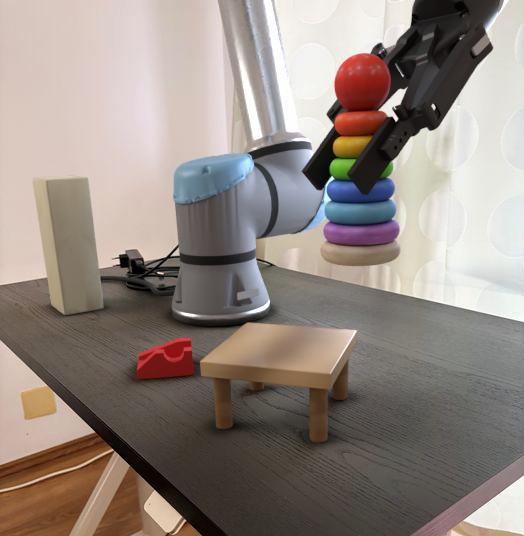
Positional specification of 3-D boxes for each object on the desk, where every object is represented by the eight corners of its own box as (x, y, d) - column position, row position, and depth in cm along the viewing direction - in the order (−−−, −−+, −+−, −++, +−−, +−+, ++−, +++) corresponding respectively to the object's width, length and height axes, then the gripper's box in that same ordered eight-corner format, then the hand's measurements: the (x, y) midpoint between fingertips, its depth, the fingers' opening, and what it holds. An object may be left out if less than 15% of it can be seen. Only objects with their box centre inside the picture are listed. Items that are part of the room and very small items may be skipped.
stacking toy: (307, 257, 61) (303, 59, 55) (372, 249, 64) (376, 60, 58) (344, 271, 54) (345, 47, 48) (416, 261, 57) (426, 47, 51)
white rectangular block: (109, 307, 97) (92, 176, 90) (65, 316, 93) (43, 179, 86) (93, 298, 103) (76, 174, 96) (51, 305, 100) (30, 177, 92)
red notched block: (192, 360, 73) (190, 337, 72) (193, 374, 68) (191, 350, 67) (140, 364, 72) (137, 341, 71) (137, 379, 67) (134, 355, 66)
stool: (205, 430, 55) (199, 361, 53) (249, 381, 66) (246, 322, 63) (330, 447, 51) (330, 373, 49) (356, 393, 62) (357, 329, 59)
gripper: (568, 12, 52) (429, 218, 49) (409, 42, 67) (296, 201, 64) (541, -67, 47) (386, 155, 45) (377, -16, 62) (253, 153, 60)
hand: (333, 182), depth 55 cm, fingers closed on stacking toy, 6 cm apart
